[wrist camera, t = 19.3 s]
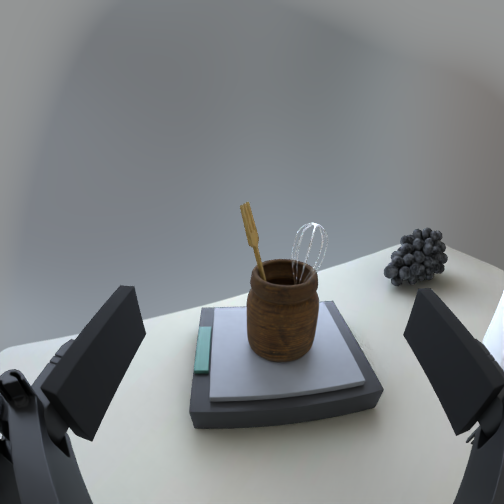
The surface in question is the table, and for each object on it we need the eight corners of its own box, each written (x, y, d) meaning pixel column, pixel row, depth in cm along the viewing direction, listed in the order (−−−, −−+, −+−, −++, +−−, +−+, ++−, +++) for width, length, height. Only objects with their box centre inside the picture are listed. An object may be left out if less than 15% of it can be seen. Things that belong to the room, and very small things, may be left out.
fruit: (403, 236, 32) (452, 225, 37) (363, 236, 40) (417, 226, 45) (406, 299, 33) (454, 275, 37) (368, 290, 40) (420, 271, 45)
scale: (194, 428, 18) (187, 407, 16) (203, 325, 31) (201, 303, 29) (375, 407, 19) (386, 385, 17) (329, 317, 32) (333, 296, 30)
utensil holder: (307, 371, 20) (327, 222, 15) (233, 354, 22) (226, 212, 17) (318, 328, 25) (332, 202, 20) (256, 317, 27) (256, 196, 22)
